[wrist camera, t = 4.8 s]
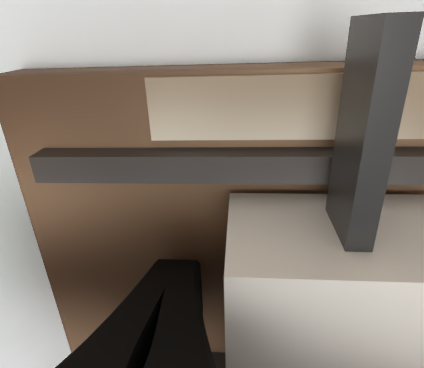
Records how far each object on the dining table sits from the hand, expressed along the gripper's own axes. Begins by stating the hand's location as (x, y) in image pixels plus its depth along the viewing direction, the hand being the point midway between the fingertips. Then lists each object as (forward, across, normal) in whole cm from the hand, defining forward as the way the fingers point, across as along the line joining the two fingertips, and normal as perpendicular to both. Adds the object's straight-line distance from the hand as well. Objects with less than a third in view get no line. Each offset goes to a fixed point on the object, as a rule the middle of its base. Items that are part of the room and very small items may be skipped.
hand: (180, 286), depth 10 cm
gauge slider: (0, -5, -2) cm, 5 cm away
